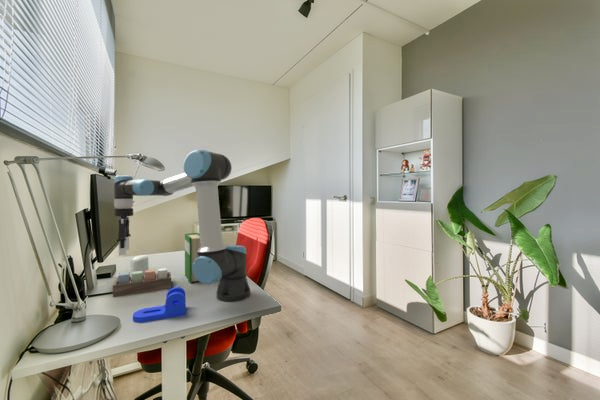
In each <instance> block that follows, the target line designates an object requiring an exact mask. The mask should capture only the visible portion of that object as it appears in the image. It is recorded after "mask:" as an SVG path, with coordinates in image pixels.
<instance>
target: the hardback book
mask: <svg viewBox="0 0 600 400" xmlns="http://www.w3.org/2000/svg"><path fill="white" fill-rule="evenodd" d="M200 247H201V242H200V232H195V233H194V232H191V233H190V232H189V233H184V276H185V277H187V278H186V279H188V280H187V281H188V283H189V284H190V285H191V284H193V282H199V280H197V279H196V277H195V276H194V274H193V270H192V266H193V262H194V261H195V259H196V258H198V253H197V251H198V249H199V248H200Z"/></svg>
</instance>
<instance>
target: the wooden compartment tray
mask: <svg viewBox="0 0 600 400" xmlns="http://www.w3.org/2000/svg"><path fill="white" fill-rule="evenodd" d="M167 289H168V290H170V289H172V275H171V272H170V271H167V278H162V279H158V273H155V279H154V280H147V281H145V275H143V280H142V281H139V282H132V277H131V276H130V281H129V283H123V284H118V278H116V279H115V280H114V282H113V285H112V297H118V296H126V295H132V294H140V293H146V292H147V293H149V292H153V291H154V292H155V291H160V290H167Z"/></svg>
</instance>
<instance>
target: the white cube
mask: <svg viewBox="0 0 600 400" xmlns="http://www.w3.org/2000/svg"><path fill="white" fill-rule="evenodd" d="M167 272H168V267H164V268H158V269H157V274H158V279H162V278H167Z"/></svg>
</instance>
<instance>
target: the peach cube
mask: <svg viewBox="0 0 600 400" xmlns="http://www.w3.org/2000/svg"><path fill="white" fill-rule="evenodd" d="M155 274H156V269H148V270H146V271H145V281H147V280H154V279H155Z"/></svg>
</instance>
